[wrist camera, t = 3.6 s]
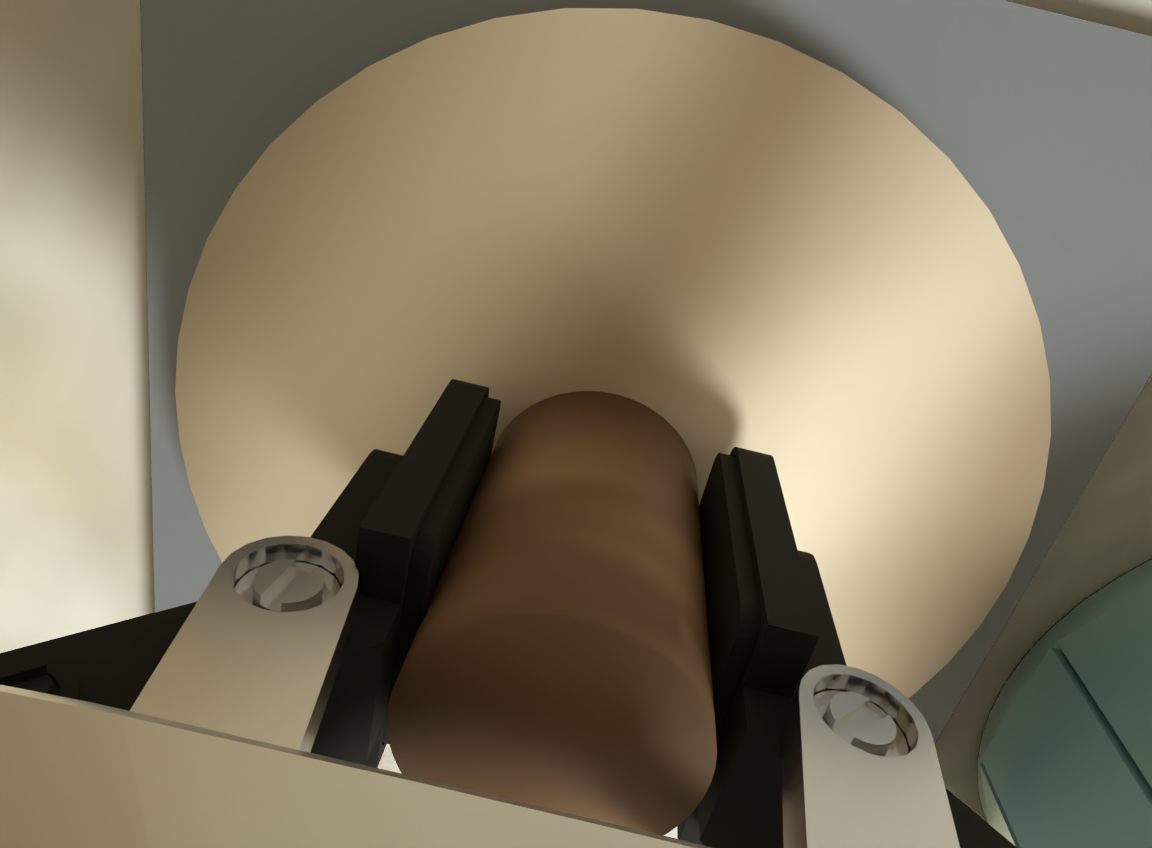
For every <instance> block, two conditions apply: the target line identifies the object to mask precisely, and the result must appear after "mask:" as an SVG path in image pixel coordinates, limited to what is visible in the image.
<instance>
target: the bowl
mask: <svg viewBox="0 0 1152 848" xmlns="http://www.w3.org/2000/svg"><path fill="white" fill-rule="evenodd" d="M977 774H978V791H979V796H980V800H981V804H982V808H983V811H984V815H985V818H986V821H987V823H988V824H989V825H990V826H992V827H993V828H994V829H995V830H996V831H998V832H999V833H1000V834H1001V835H1002V836H1004V837H1005V838H1006V839H1007V840H1008V841H1010V842H1011V843H1012V844H1013V845H1014V846H1016V847H1017V848H1152V559H1151V560H1150V561H1148V562H1146V563H1144V564H1142V565H1140V566H1139V567H1137V568H1135V569H1133V570H1131V571H1129V572H1128V573H1126V574H1124V575H1122V576H1120V577H1118V578H1117V579H1115V580H1114V581H1112V582H1111V583H1109V584H1108V585H1106V586H1105V587H1103V588H1102V589H1101V590H1099V591H1098V592H1096V593H1095V594H1093V595H1092V596H1090V597H1089V598H1087V599H1086V600H1084V601H1083V602H1081V603H1080V604H1079V605H1078V606H1077V607H1075V608H1074V609H1073V610H1072V611H1071V612H1070V613H1068V614H1067V615H1066V616H1065V617H1064V618H1063V619H1061V620H1060V621H1059V622H1058V623H1057V624H1055V625H1054V626H1053V627H1052V628H1051V629H1050V630H1049V631H1048V632H1047V633H1046V634H1045V635H1044V636H1043V637H1042V638H1041V639H1040V640H1039V641H1038V642H1037V644H1036V645H1035V646H1034V647H1033V648H1032V649H1031V650H1030V651H1029V652H1028V653H1027V654H1026V655H1025V656H1024V658H1023V659H1022V660H1021V662H1020V663H1019V665H1018V666H1017V667H1016V669H1015V670H1014V672H1013V673H1012V674H1011V676H1010V677H1009V679H1008V680H1007V681H1006V683H1005V684H1004V686H1003V688H1002V690H1001V692H1000V694H999V696H998V698H997V700H996V701H995V703H994V705H993V707H992V709H991V711H990V713H989V716H988V719H987V723H986V726H985V729H984V732H983V735H982V738H981V742H980V749H979V757H978V764H977Z"/></svg>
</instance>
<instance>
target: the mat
mask: <svg viewBox="0 0 1152 848" xmlns="http://www.w3.org/2000/svg"><path fill="white" fill-rule="evenodd" d="M140 6H141V48H142V91H143V133H144V176H145V218H146V261H147V303H148V346H149V388H150V431H151V473H152V516H153V558H154V601H155V612H159V611H163V610H167V609H170V608H174V607H178V606H182V605H186V604H189V603H193V602H197V601H198V600H199V598H200V597H201V595H202V593H203V592H204V590H205V589H206V587H207V585H208V584H209V582H210V581H211V579H212V577H213V576H214V574H215V573H216V571H217V569H218V568H219V566H220V565H221V564H222V561H221V559H220V557H219V555H218V553H217V551H216V549H215V548H214V546H213V544H212V542H211V540H210V538H209V536H208V534H207V532H206V529H205V527H204V524H203V521H202V518H201V516H200V513H199V510H198V508H197V505H196V502H195V499H194V497H193V494H192V491H191V489H190V485H189V481H188V476H187V472H186V467H185V463H184V458H183V454H182V450H181V445H180V441H179V430H178V419H177V407H176V396H175V384H176V366H177V348H178V338H179V333H180V328H181V323H182V318H183V313H184V309H185V304H186V299H187V294H188V289H189V287H190V284H191V281H192V279H193V276H194V273H195V270H196V268H197V265H198V262H199V260H200V257H201V254H202V252H203V249H204V246H205V244H206V241H207V238H208V237H209V235H210V233H211V231H212V229H213V228H214V226H215V224H216V222H217V220H218V219H219V217H220V215H221V213H222V212H223V210H224V208H225V206H226V204H227V203H228V201H229V199H230V197H231V195H232V194H233V192H234V190H235V189H236V187H237V186H238V185H239V184H240V182H241V181H242V180H243V178H244V177H245V176H246V175H247V173H248V172H249V171H250V170H251V168H252V167H253V166H254V164H255V163H256V162H257V161H258V159H259V158H260V157H261V156H262V154H263V153H264V152H265V150H266V149H267V148H268V147H269V145H270V144H271V143H272V142H273V141H274V140H275V139H276V138H277V137H279V136H280V135H281V134H282V133H283V132H284V131H285V130H286V129H287V128H288V127H289V126H290V125H291V124H293V123H294V122H295V121H296V120H297V119H298V118H299V117H300V116H301V115H302V114H303V113H304V112H305V111H307V110H308V109H309V108H310V107H311V106H312V105H313V104H314V103H315V102H316V101H318V100H319V99H321V98H322V97H324V96H325V95H327V94H328V93H330V92H331V91H333V90H334V89H336V88H337V87H339V86H340V85H342V84H343V83H345V82H346V81H347V80H349V79H350V78H352V77H353V76H355V75H356V74H358V73H359V72H361V71H362V70H364V69H365V68H367V67H368V66H370V65H372V64H374V63H376V62H379V61H381V60H383V59H385V58H387V57H389V56H391V55H393V54H396V53H398V52H400V51H402V50H404V49H406V48H408V47H410V46H412V45H415V44H417V43H419V42H421V41H423V40H425V39H427V38H430V37H433V36H436V35H440V34H443V33H446V32H450V31H453V30H457V29H460V28H463V27H467V26H470V25H473V24H477V23H480V22H483V21H487V20H490V19H493V18H499V17H506V16H513V15H520V14H527V13H534V12H541V11H548V10H555V9H562V8H620V9H643V10H649V11H656V12H662V13H669V14H675V15H681V16H688V17H694V18H701V19H707V20H711V21H715V22H718V23H721V24H724V25H727V26H731V27H734V28H737V29H740V30H743V31H747V32H750V33H753V34H756V35H759V36H763V37H766V38H769V39H772V40H775V41H779V42H781V43H783V44H785V45H787V46H789V47H791V48H793V49H795V50H797V51H799V52H801V53H803V54H805V55H807V56H809V57H812V58H814V59H816V60H818V61H820V62H822V63H824V64H826V65H828V66H830V67H832V68H834V69H836V70H838V71H840V72H842V73H844V74H846V75H847V76H848V77H850V78H851V79H853V80H854V81H856V82H857V83H859V84H860V85H861V86H863V87H864V88H866V89H867V90H869V91H870V92H872V93H873V94H875V95H876V96H877V97H879V98H880V99H882V100H883V101H885V102H886V103H888V104H889V105H891V106H892V107H893V108H895V109H896V110H898V111H899V112H901V113H902V114H903V115H904V116H905V117H906V118H907V119H908V120H909V121H910V122H911V123H912V124H913V125H914V126H916V127H917V128H918V129H919V130H920V131H921V132H922V133H923V134H924V135H925V136H926V137H927V138H928V139H929V140H930V141H931V142H932V143H934V144H935V145H936V146H937V147H938V148H939V149H940V150H941V151H942V152H943V153H944V154H945V155H946V156H947V157H948V158H949V159H950V160H951V161H952V162H953V164H954V165H955V166H956V168H957V169H958V170H959V171H960V173H961V174H962V175H963V177H964V178H965V179H966V180H967V182H968V183H969V184H970V186H971V187H972V188H973V190H974V191H975V192H976V193H977V195H978V196H979V197H980V199H981V200H982V201H983V202H984V204H985V205H986V206H987V208H988V209H989V210H990V212H991V214H992V216H993V217H994V219H995V221H996V223H997V225H998V227H999V228H1000V230H1001V232H1002V234H1003V236H1004V238H1005V239H1006V241H1007V243H1008V245H1009V247H1010V249H1011V250H1012V252H1013V254H1014V256H1015V258H1016V260H1017V261H1018V263H1019V265H1020V268H1021V270H1022V273H1023V276H1024V279H1025V282H1026V285H1027V288H1028V290H1029V293H1030V296H1031V299H1032V302H1033V305H1034V307H1035V310H1036V313H1037V316H1038V319H1039V322H1040V326H1041V332H1042V338H1043V343H1044V349H1045V354H1046V360H1047V365H1048V371H1049V377H1050V408H1051V438H1050V445H1049V453H1048V460H1047V467H1046V474H1045V481H1044V488H1043V492H1042V495H1041V498H1040V502H1039V505H1038V508H1037V512H1036V515H1035V518H1034V522H1033V525H1032V528H1031V532H1030V535H1029V538H1028V540H1027V543H1026V545H1025V547H1024V549H1023V551H1022V553H1021V555H1020V558H1019V560H1018V562H1017V564H1016V566H1015V568H1014V570H1013V573H1012V575H1011V577H1010V579H1009V581H1008V583H1007V585H1006V587H1005V588H1004V590H1003V591H1002V593H1001V594H1000V596H999V597H998V599H997V600H996V602H995V604H994V605H993V607H992V608H991V610H990V611H989V613H988V614H987V616H986V617H985V619H984V620H983V622H982V624H981V625H980V626H979V628H978V629H977V630H976V631H975V632H974V633H973V635H972V636H971V637H970V638H969V639H968V640H967V642H966V643H965V644H964V645H963V646H962V647H961V649H960V650H959V651H958V652H957V653H956V654H955V656H954V657H953V658H952V659H951V660H950V661H949V663H948V664H947V665H945V666H944V667H943V668H942V669H941V670H940V671H939V672H938V673H937V674H936V675H934V676H933V677H932V678H931V679H930V680H929V681H928V682H927V683H926V684H925V685H923V686H922V687H921V688H920V689H919V690H918V691H917V692H916V693H915V694H913V695H912V696H911V697H910V698H908V699H909V700H910V701H912V702H913V704H914V705H915V706H916V707H917V709H918V710H919V711H920V713H921V714H922V715H923V717H924V718H925V719H926V722H927V724H928V726H929V729H930V731H931V733H932V736H933V740H934V744H935V743H936V741H937V739H938V738H939V736H940V734H941V732H942V731H943V729H944V727H945V726H946V724H947V722H948V721H949V719H950V717H951V715H952V714H953V712H954V710H955V709H956V707H957V705H958V703H959V702H960V700H961V698H962V697H963V695H964V693H965V692H966V690H967V688H968V686H969V685H970V683H971V681H972V680H973V678H974V676H975V674H976V673H977V671H978V669H979V668H980V666H981V664H982V662H983V661H984V659H985V657H986V656H987V654H988V652H989V651H990V649H991V647H992V645H993V644H994V642H995V640H996V639H997V637H998V635H999V633H1000V632H1001V630H1002V628H1003V627H1004V625H1005V623H1006V622H1007V620H1008V618H1009V616H1010V615H1011V613H1012V611H1013V610H1014V608H1015V606H1016V604H1017V603H1018V601H1019V599H1020V598H1021V596H1022V594H1023V593H1024V591H1025V589H1026V587H1027V586H1028V584H1029V582H1030V581H1031V579H1032V577H1033V575H1034V574H1035V572H1036V570H1037V569H1038V567H1039V565H1040V563H1041V562H1042V560H1043V558H1044V557H1045V555H1046V553H1047V552H1048V550H1049V548H1050V546H1051V545H1052V543H1053V541H1054V540H1055V538H1056V536H1057V534H1058V533H1059V531H1060V529H1061V528H1062V526H1063V524H1064V523H1065V521H1066V519H1067V517H1068V516H1069V514H1070V512H1071V511H1072V509H1073V507H1074V505H1075V504H1076V502H1077V500H1078V499H1079V497H1080V495H1081V494H1082V492H1083V490H1084V488H1085V487H1086V485H1087V483H1088V482H1089V480H1090V478H1091V476H1092V475H1093V473H1094V471H1095V470H1096V468H1097V466H1098V464H1099V463H1100V461H1101V459H1102V458H1103V456H1104V454H1105V453H1106V451H1107V449H1108V447H1109V446H1110V444H1111V442H1112V441H1113V439H1114V437H1115V435H1116V434H1117V432H1118V430H1119V429H1120V427H1121V425H1122V424H1123V422H1124V420H1125V418H1126V417H1127V415H1128V413H1129V412H1130V410H1131V408H1132V406H1133V405H1134V403H1135V401H1136V400H1137V398H1138V396H1139V395H1140V393H1141V391H1142V389H1143V388H1144V386H1145V384H1146V383H1147V381H1148V379H1149V377H1150V376H1151V374H1152V36H1149V35H1145V34H1141V33H1137V32H1132V31H1128V30H1124V29H1120V28H1116V27H1112V26H1108V25H1104V24H1100V23H1096V22H1092V21H1087V20H1083V19H1079V18H1075V17H1071V16H1067V15H1063V14H1059V13H1055V12H1051V11H1046V10H1042V9H1038V8H1034V7H1030V6H1026V5H1022V4H1018V3H1014V2H1010V1H1006V0H140Z"/></svg>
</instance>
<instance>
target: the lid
mask: <svg viewBox="0 0 1152 848" xmlns="http://www.w3.org/2000/svg"><path fill="white" fill-rule="evenodd" d="M451 379H456V380H460V381H464V382H468V383H472V384H476V385H481V386H485V387H488V388H489V398H493V399H497V400H501V405H500V411H499V416H498V422H497V427H496V432H495V437H494V442H493V447H492V453H491V457H490V459H489V462H488V464H487V467H486V469H485V471H484V474H483V476H482V479H481V481H480V483H479V486H478V488H477V491H476V493H475V495H474V498H473V500H472V503H471V505H470V507H469V510H468V512H467V515H466V517H465V519H464V522H463V524H462V527H461V529H460V531H459V534H458V536H457V539H456V541H455V543H454V546H453V548H452V551H451V553H450V555H449V558H448V560H447V563H446V565H445V567H444V570H443V572H442V575H441V577H440V579H439V582H438V584H437V587H436V589H435V591H434V594H433V596H432V599H431V601H430V603H429V606H428V608H427V611H426V613H425V615H424V618H423V620H422V622H421V625H420V627H419V629H418V630H417V633H416V635H415V637H414V640H413V642H412V644H411V647H410V649H409V652H408V654H407V656H406V659H405V661H404V663H403V666H402V668H401V671H400V673H399V675H398V678H397V680H396V683H395V685H394V687H393V690H392V692H391V696H390V700H389V704H388V708H387V731H388V739H389V743H390V747H391V750H392V753H393V756H394V759H395V761H396V763H397V765H398V767H399V769H400V771H401V773H402V774H405V775H409V776H413V777H418V778H422V779H426V780H431V781H435V782H439V783H443V784H447V785H452V786H456V787H460V788H464V789H469V790H473V791H477V792H481V793H485V794H490V795H494V796H498V797H502V798H507V799H511V800H515V801H519V802H523V803H528V804H532V805H536V806H540V807H545V808H549V809H553V810H557V811H561V812H566V813H570V814H574V815H578V816H583V817H587V818H591V819H595V820H599V821H603V822H608V823H612V824H616V825H620V826H624V827H629V828H633V829H637V830H641V831H645V832H650V833H654V834H658V835H662V836H663V835H665V834H667V833H668V832H670V831H671V830H672V829H674V828H675V827H676V826H678V825H679V824H680V823H682V822H683V821H684V820H685V819H686V818H687V817H688V816H689V815H690V814H691V813H692V812H693V811H694V810H695V808H696V807H697V806H698V804H699V803H700V802H701V800H702V799H703V798H704V796H705V794H706V792H707V790H708V788H709V786H710V784H711V781H712V778H713V774H714V771H715V767H716V758H717V742H716V727H715V714H714V701H713V687H712V674H711V660H710V647H709V634H708V620H707V607H706V593H705V580H704V566H703V553H702V540H701V526H700V513H699V504H700V501H701V498H702V495H703V492H704V489H705V486H706V483H707V480H708V477H709V474H710V471H711V468H712V465H713V463H714V460H715V458H716V456H717V454H718V453H722V454H726V455H730V453H731V451H732V449H733V448H734V447H739V448H743V449H747V450H751V451H755V452H759V453H764V454H768V455H772V456H773V458H774V461H775V465H776V469H777V473H778V477H779V481H780V485H781V488H782V492H783V496H784V500H785V504H786V508H787V512H788V516H789V519H790V523H791V527H792V531H793V535H794V539H795V543H796V546H797V550H799V551H804V552H808V553H810V554H812V555H814V558H815V560H816V562H817V565H818V569H819V572H820V576H821V579H822V582H823V586H824V589H825V593H826V596H827V600H828V603H829V607H830V610H831V614H832V617H833V621H834V624H835V627H836V631H837V634H838V638H839V641H840V645H841V648H842V652H843V655H844V659H845V662H846V665H847V666H850V667H854V668H859V669H861V670H863V671H866V672H868V673H871V674H873V675H875V676H878V677H879V678H881V679H883V680H884V681H886V682H887V683H889V684H891V685H892V686H894V687H895V688H897V689H898V690H899V691H900V692H901V693H902V694H904V695H905V696H906V697H907V698H910V697H911V696H912V695H913V694H915V693H916V692H917V691H918V690H919V689H920V688H921V687H922V686H923V685H925V684H926V683H927V682H928V681H929V680H930V679H931V678H932V677H933V676H934V675H936V674H937V673H938V672H939V671H940V670H941V669H942V668H943V667H944V666H945V665H947V664H948V663H949V661H950V660H951V659H952V658H953V657H954V656H955V654H956V653H957V652H958V651H959V650H960V649H961V647H962V646H963V645H964V644H965V643H966V642H967V640H968V639H969V638H970V637H971V636H972V635H973V633H974V632H975V631H976V630H977V629H978V628H979V626H980V625H981V624H982V622H983V620H984V619H985V617H986V616H987V614H988V613H989V611H990V610H991V608H992V607H993V605H994V604H995V602H996V600H997V599H998V597H999V596H1000V594H1001V593H1002V591H1003V590H1004V588H1005V587H1006V585H1007V583H1008V581H1009V579H1010V577H1011V575H1012V573H1013V570H1014V568H1015V566H1016V564H1017V562H1018V560H1019V558H1020V555H1021V553H1022V551H1023V549H1024V547H1025V545H1026V543H1027V540H1028V538H1029V535H1030V532H1031V528H1032V525H1033V522H1034V518H1035V515H1036V512H1037V508H1038V505H1039V502H1040V498H1041V495H1042V492H1043V488H1044V481H1045V474H1046V467H1047V460H1048V453H1049V445H1050V438H1051V408H1050V377H1049V371H1048V365H1047V360H1046V354H1045V349H1044V343H1043V338H1042V332H1041V326H1040V322H1039V319H1038V316H1037V313H1036V310H1035V307H1034V305H1033V302H1032V299H1031V296H1030V293H1029V290H1028V288H1027V285H1026V282H1025V279H1024V276H1023V273H1022V270H1021V268H1020V265H1019V263H1018V261H1017V260H1016V258H1015V256H1014V254H1013V252H1012V250H1011V249H1010V247H1009V245H1008V243H1007V241H1006V239H1005V238H1004V236H1003V234H1002V232H1001V230H1000V228H999V227H998V225H997V223H996V221H995V219H994V217H993V216H992V214H991V212H990V210H989V209H988V208H987V206H986V205H985V204H984V202H983V201H982V200H981V199H980V197H979V196H978V195H977V193H976V192H975V191H974V190H973V188H972V187H971V186H970V184H969V183H968V182H967V180H966V179H965V178H964V177H963V175H962V174H961V173H960V171H959V170H958V169H957V168H956V166H955V165H954V164H953V162H952V161H951V160H950V159H949V158H948V157H947V156H946V155H945V154H944V153H943V152H942V151H941V150H940V149H939V148H938V147H937V146H936V145H935V144H934V143H932V142H931V141H930V140H929V139H928V138H927V137H926V136H925V135H924V134H923V133H922V132H921V131H920V130H919V129H918V128H917V127H916V126H914V125H913V124H912V123H911V122H910V121H909V120H908V119H907V118H906V117H905V116H904V115H903V114H902V113H901V112H899V111H898V110H896V109H895V108H893V107H892V106H891V105H889V104H888V103H886V102H885V101H883V100H882V99H880V98H879V97H877V96H876V95H875V94H873V93H872V92H870V91H869V90H867V89H866V88H864V87H863V86H861V85H860V84H859V83H857V82H856V81H854V80H853V79H851V78H850V77H848V76H847V75H846V74H844V73H842V72H840V71H838V70H836V69H834V68H832V67H830V66H828V65H826V64H824V63H822V62H820V61H818V60H816V59H814V58H812V57H809V56H807V55H805V54H803V53H801V52H799V51H797V50H795V49H793V48H791V47H789V46H787V45H785V44H783V43H781V42H779V41H775V40H772V39H769V38H766V37H763V36H759V35H756V34H753V33H750V32H747V31H743V30H740V29H737V28H734V27H731V26H727V25H724V24H721V23H718V22H715V21H711V20H707V19H701V18H694V17H688V16H681V15H675V14H669V13H662V12H656V11H649V10H643V9H620V8H562V9H555V10H548V11H541V12H534V13H527V14H520V15H513V16H506V17H499V18H493V19H490V20H487V21H483V22H480V23H477V24H473V25H470V26H467V27H463V28H460V29H457V30H453V31H450V32H446V33H443V34H440V35H436V36H433V37H430V38H427V39H425V40H423V41H421V42H419V43H417V44H415V45H412V46H410V47H408V48H406V49H404V50H402V51H400V52H398V53H396V54H393V55H391V56H389V57H387V58H385V59H383V60H381V61H379V62H376V63H374V64H372V65H370V66H368V67H367V68H365V69H364V70H362V71H361V72H359V73H358V74H356V75H355V76H353V77H352V78H350V79H349V80H347V81H346V82H345V83H343V84H342V85H340V86H339V87H337V88H336V89H334V90H333V91H331V92H330V93H328V94H327V95H325V96H324V97H322V98H321V99H319V100H318V101H316V102H315V103H314V104H313V105H312V106H311V107H310V108H309V109H308V110H307V111H305V112H304V113H303V114H302V115H301V116H300V117H299V118H298V119H297V120H296V121H295V122H294V123H293V124H291V125H290V126H289V127H288V128H287V129H286V130H285V131H284V132H283V133H282V134H281V135H280V136H279V137H277V138H276V139H275V140H274V141H273V142H272V143H271V144H270V145H269V147H268V148H267V149H266V150H265V152H264V153H263V154H262V156H261V157H260V158H259V159H258V161H257V162H256V163H255V164H254V166H253V167H252V168H251V170H250V171H249V172H248V173H247V175H246V176H245V177H244V178H243V180H242V181H241V182H240V184H239V185H238V186H237V187H236V189H235V190H234V192H233V194H232V195H231V197H230V199H229V201H228V203H227V204H226V206H225V208H224V210H223V212H222V213H221V215H220V217H219V219H218V220H217V222H216V224H215V226H214V228H213V229H212V231H211V233H210V235H209V237H208V238H207V241H206V244H205V246H204V249H203V252H202V254H201V257H200V260H199V262H198V265H197V268H196V270H195V273H194V276H193V279H192V281H191V284H190V287H189V289H188V294H187V299H186V304H185V309H184V313H183V318H182V323H181V328H180V333H179V338H178V348H177V366H176V384H175V396H176V407H177V419H178V430H179V441H180V445H181V450H182V454H183V458H184V463H185V467H186V472H187V476H188V481H189V485H190V489H191V491H192V494H193V497H194V499H195V502H196V505H197V508H198V510H199V513H200V516H201V518H202V521H203V524H204V527H205V529H206V532H207V534H208V536H209V538H210V540H211V542H212V544H213V546H214V548H215V549H216V551H217V553H218V555H219V557H220V559H221V561H222V563H223V561H224V560H225V559H226V558H227V557H228V556H229V555H230V554H231V553H232V552H234V551H236V550H237V549H239V548H241V547H243V546H244V545H246V544H248V543H251V542H254V541H258V540H261V539H264V538H268V537H278V536H287V535H289V536H303V537H311V535H312V534H313V532H314V531H315V530H316V528H317V527H318V525H319V524H320V523H321V521H322V520H323V518H324V517H325V516H326V514H327V513H328V511H329V510H330V508H331V507H332V506H333V504H334V503H335V501H336V500H337V499H338V497H339V496H340V494H341V493H342V492H343V490H344V489H345V487H346V486H347V485H348V483H349V482H350V480H351V479H352V477H353V476H354V475H355V473H356V472H357V470H358V469H359V468H360V466H361V465H362V463H363V462H364V461H365V459H366V458H367V456H368V455H369V454H370V453H371V452H372V451H373V450H374V449H378V450H382V451H387V452H391V453H395V454H399V455H403V456H404V454H405V452H406V451H407V449H408V448H409V446H410V444H411V443H412V441H413V440H414V438H415V436H416V435H417V433H418V432H419V430H420V428H421V427H422V425H423V424H424V422H425V420H426V419H427V417H428V416H429V414H430V412H431V411H432V409H433V408H434V406H435V404H436V403H437V401H438V400H439V398H440V396H441V395H442V393H443V392H444V390H445V388H446V387H447V385H448V384H449V382H450V381H451Z"/></svg>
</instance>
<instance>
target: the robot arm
mask: <svg viewBox="0 0 1152 848" xmlns="http://www.w3.org/2000/svg"><path fill="white" fill-rule="evenodd" d="M500 405H501V400H497V399H493V398H489V388H488V387H485V386H481V385H476V384H472V383H468V382H464V381H460V380H456V379H451V381H450V382H449V384H448V385H447V387H446V388H445V390H444V392H443V393H442V395H441V396H440V398H439V400H438V401H437V403H436V404H435V406H434V408H433V409H432V411H431V412H430V414H429V416H428V417H427V419H426V420H425V422H424V424H423V425H422V427H421V428H420V430H419V432H418V433H417V435H416V436H415V438H414V440H413V441H412V443H411V444H410V446H409V448H408V449H407V451H406V452H405V454H404V456H403V455H399V454H395V453H391V452H387V451H382V450H378V449H374V450H373V451H372V452H371V453H370V454H369V455H368V456H367V458H366V459H365V461H364V462H363V463H362V465H361V466H360V468H359V469H358V470H357V472H356V473H355V475H354V476H353V477H352V479H351V480H350V482H349V483H348V485H347V486H346V487H345V489H344V490H343V492H342V493H341V494H340V496H339V497H338V499H337V500H336V501H335V503H334V504H333V506H332V507H331V508H330V510H329V511H328V513H327V514H326V516H325V517H324V518H323V520H322V521H321V523H320V524H319V525H318V527H317V528H316V530H315V531H314V532H313V534H312V535H311V537H303V536H289V535H287V536H278V537H268V538H264V539H261V540H258V541H254V542H251V543H248V544H246V545H244V546H243V547H241V548H239V549H237V550H236V551H234V552H232V553H231V554H230V555H229V556H228V557H227V558H226V559H225V560H224V561H223V563H222V564H221V565H220V566H219V568H218V569H217V571H216V573H215V574H214V576H213V577H212V579H211V581H210V582H209V584H208V585H207V587H206V589H205V590H204V592H203V593H202V595H201V597H200V598H199V600H198V601H197V602H193V603H189V604H186V605H182V606H178V607H174V608H170V609H167V610H163V611H159V612H155V613H152V614H148V615H144V616H140V617H136V618H133V619H129V620H125V621H121V622H117V623H114V624H110V625H106V626H102V627H99V628H95V629H91V630H87V631H83V632H80V633H76V634H72V635H68V636H64V637H61V638H57V639H53V640H49V641H46V642H42V643H38V644H34V645H30V646H27V647H23V648H19V649H15V650H11V651H8V652H4V653H0V848H1017V847H1016V846H1014V845H1013V844H1012V843H1011V842H1010V841H1008V840H1007V839H1006V838H1005V837H1004V836H1002V835H1001V834H1000V833H999V832H998V831H996V830H995V829H994V828H993V827H992V826H990V825H989V824H988V823H987V822H986V821H984V820H983V819H982V818H981V817H980V816H978V815H977V814H976V813H975V812H974V811H972V810H971V809H970V808H969V807H968V806H966V805H965V804H964V803H963V802H962V801H960V800H959V799H958V798H957V797H956V796H954V795H953V794H952V793H951V792H950V791H948V790H947V789H946V788H945V785H944V781H943V777H942V773H941V769H940V765H939V760H938V756H937V752H936V748H935V744H934V740H933V736H932V733H931V731H930V729H929V726H928V724H927V722H926V719H925V718H924V717H923V715H922V714H921V713H920V711H919V710H918V709H917V707H916V706H915V705H914V704H913V702H912V701H910V700H909V699H908V698H907V697H906V696H905V695H904V694H902V693H901V692H900V691H899V690H898V689H897V688H895V687H894V686H892V685H891V684H889V683H887V682H886V681H884V680H883V679H881V678H879V677H878V676H875V675H873V674H871V673H868V672H866V671H863V670H861V669H859V668H854V667H850V666H847V665H846V662H845V659H844V655H843V652H842V648H841V645H840V641H839V638H838V634H837V631H836V627H835V624H834V621H833V617H832V614H831V610H830V607H829V603H828V600H827V596H826V593H825V589H824V586H823V582H822V579H821V576H820V572H819V569H818V565H817V562H816V560H815V558H814V555H812V554H810V553H808V552H804V551H799V550H797V546H796V543H795V539H794V535H793V531H792V527H791V523H790V519H789V516H788V512H787V508H786V504H785V500H784V496H783V492H782V488H781V485H780V481H779V477H778V473H777V469H776V465H775V461H774V458H773V456H772V455H768V454H764V453H759V452H755V451H751V450H747V449H743V448H739V447H734V448H733V449H732V451H731V453H730V455H726V454H722V453H718V454H717V456H716V458H715V460H714V463H713V465H712V468H711V471H710V474H709V477H708V480H707V483H706V486H705V489H704V492H703V495H702V498H701V501H700V504H699V513H700V526H701V540H702V553H703V566H704V580H705V593H706V607H707V620H708V634H709V647H710V660H711V674H712V687H713V701H714V714H715V727H716V742H717V758H716V767H715V771H714V774H713V778H712V781H711V784H710V786H709V788H708V790H707V792H706V794H705V796H704V798H703V799H702V800H701V802H700V803H699V804H698V806H697V807H696V808H695V810H694V811H693V812H692V813H691V814H690V815H689V816H688V817H687V818H686V819H685V820H684V821H683V822H682V823H680V824H679V825H678V839H675V838H670V837H666V836H662V835H658V834H654V833H650V832H645V831H641V830H637V829H633V828H629V827H624V826H620V825H616V824H612V823H608V822H603V821H599V820H595V819H591V818H587V817H583V816H578V815H574V814H570V813H566V812H561V811H557V810H553V809H549V808H545V807H540V806H536V805H532V804H528V803H523V802H519V801H515V800H511V799H507V798H502V797H498V796H494V795H490V794H485V793H481V792H477V791H473V790H469V789H464V788H460V787H456V786H452V785H447V784H443V783H439V782H435V781H431V780H426V779H422V778H418V777H413V776H409V775H405V774H400V773H396V772H392V771H387V770H383V769H379V768H377V767H378V764H379V762H380V759H381V757H382V754H383V752H384V749H385V747H386V744H390V743H389V739H388V731H387V708H388V704H389V700H390V696H391V692H392V690H393V687H394V685H395V683H396V680H397V678H398V675H399V673H400V671H401V668H402V666H403V663H404V661H405V659H406V656H407V654H408V652H409V649H410V647H411V644H412V642H413V640H414V637H415V635H416V633H417V630H418V629H419V627H420V625H421V622H422V620H423V618H424V615H425V613H426V611H427V608H428V606H429V603H430V601H431V599H432V596H433V594H434V591H435V589H436V587H437V584H438V582H439V579H440V577H441V575H442V572H443V570H444V567H445V565H446V563H447V560H448V558H449V555H450V553H451V551H452V548H453V546H454V543H455V541H456V539H457V536H458V534H459V531H460V529H461V527H462V524H463V522H464V519H465V517H466V515H467V512H468V510H469V507H470V505H471V503H472V500H473V498H474V495H475V493H476V491H477V488H478V486H479V483H480V481H481V479H482V476H483V474H484V471H485V469H486V467H487V464H488V462H489V459H490V457H491V453H492V447H493V442H494V437H495V432H496V427H497V422H498V416H499V411H500Z"/></svg>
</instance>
